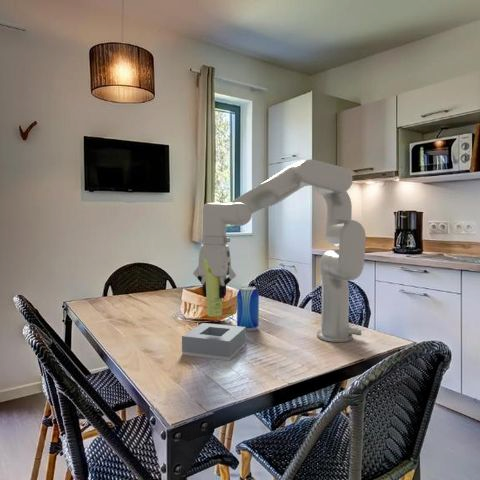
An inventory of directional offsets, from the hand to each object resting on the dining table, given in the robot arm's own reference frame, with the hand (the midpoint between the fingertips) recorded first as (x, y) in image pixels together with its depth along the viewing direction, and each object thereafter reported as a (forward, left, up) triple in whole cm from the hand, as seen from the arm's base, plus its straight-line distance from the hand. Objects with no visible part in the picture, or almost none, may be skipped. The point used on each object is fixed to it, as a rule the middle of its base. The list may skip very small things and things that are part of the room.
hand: (214, 296), depth 128 cm
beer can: (-3, -26, -18) cm, 32 cm away
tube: (0, 0, -7) cm, 7 cm away
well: (0, 0, -18) cm, 18 cm away
